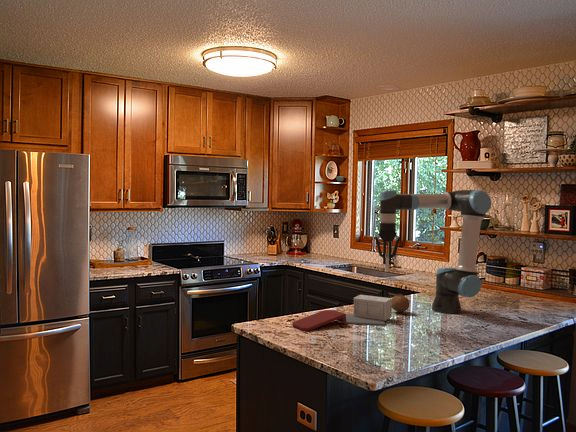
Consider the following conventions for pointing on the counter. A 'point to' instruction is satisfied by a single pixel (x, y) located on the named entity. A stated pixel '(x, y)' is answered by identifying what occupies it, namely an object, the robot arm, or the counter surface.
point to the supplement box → (373, 307)
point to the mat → (362, 320)
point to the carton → (319, 319)
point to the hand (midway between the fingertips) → (386, 271)
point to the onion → (400, 303)
